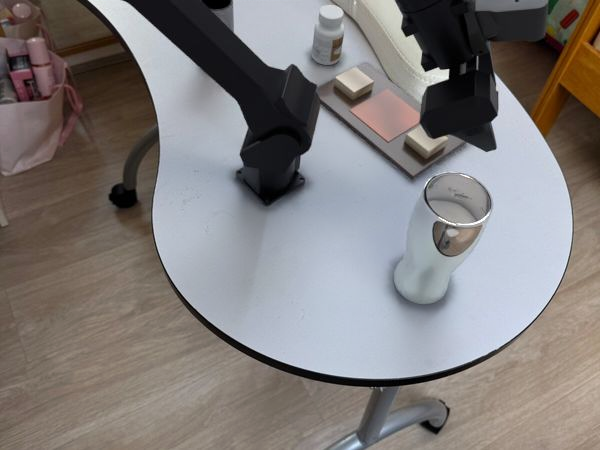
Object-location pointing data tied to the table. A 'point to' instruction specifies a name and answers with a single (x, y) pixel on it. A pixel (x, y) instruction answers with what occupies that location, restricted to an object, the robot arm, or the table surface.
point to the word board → (385, 119)
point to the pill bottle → (328, 35)
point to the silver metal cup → (441, 234)
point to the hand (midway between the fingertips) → (491, 117)
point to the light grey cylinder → (222, 10)
